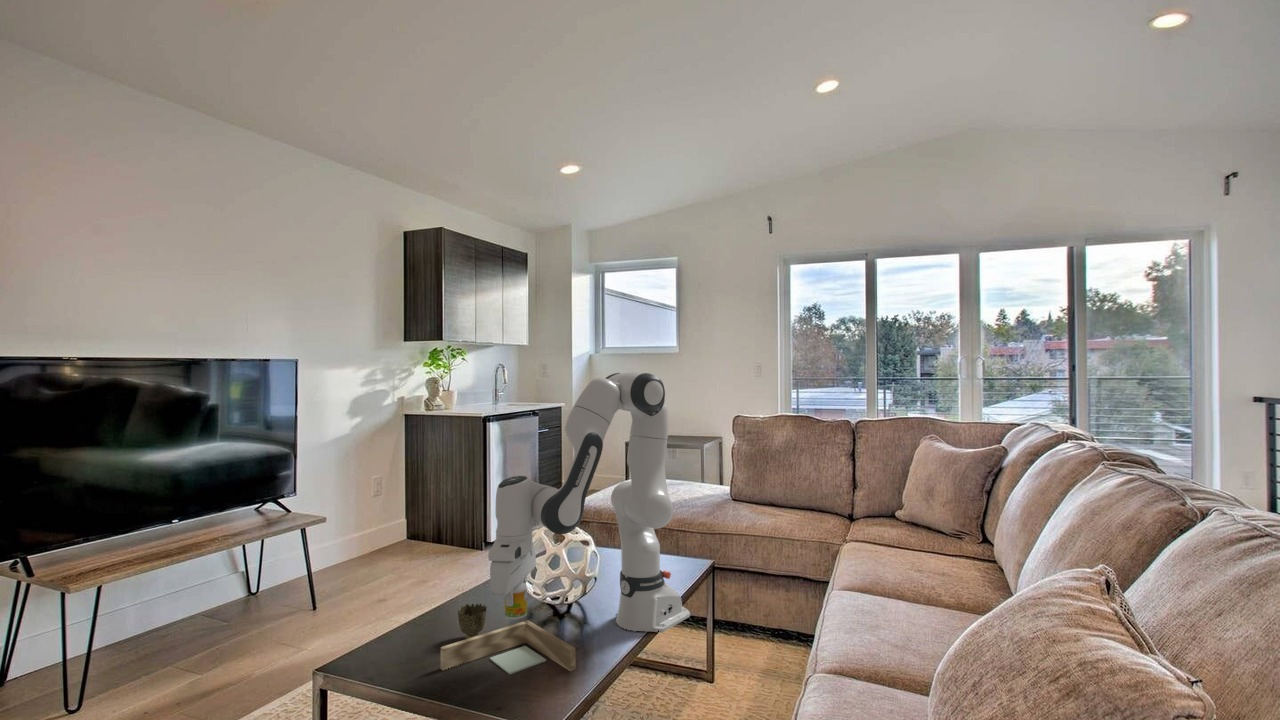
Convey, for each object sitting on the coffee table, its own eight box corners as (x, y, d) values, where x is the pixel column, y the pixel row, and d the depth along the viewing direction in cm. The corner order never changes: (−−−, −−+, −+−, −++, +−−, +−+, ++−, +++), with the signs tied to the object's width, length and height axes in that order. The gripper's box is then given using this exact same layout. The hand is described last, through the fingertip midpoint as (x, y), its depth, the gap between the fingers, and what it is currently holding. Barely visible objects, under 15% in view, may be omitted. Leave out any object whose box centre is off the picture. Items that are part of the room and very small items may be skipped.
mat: (525, 647, 152) (525, 645, 152) (546, 661, 145) (546, 659, 145) (489, 659, 146) (489, 657, 146) (509, 674, 138) (509, 672, 138)
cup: (478, 645, 153) (478, 614, 153) (452, 643, 154) (452, 612, 155) (491, 633, 160) (491, 604, 161) (466, 631, 162) (466, 602, 162)
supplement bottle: (502, 620, 142) (501, 579, 142) (508, 611, 148) (507, 572, 148) (524, 619, 142) (523, 579, 142) (529, 610, 147) (528, 571, 148)
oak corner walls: (527, 639, 157) (527, 620, 157) (575, 669, 141) (575, 648, 141) (440, 668, 141) (440, 647, 141) (482, 706, 125) (482, 682, 125)
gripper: (518, 531, 156) (519, 584, 156) (484, 556, 136) (486, 616, 136) (541, 532, 155) (542, 584, 155) (510, 556, 135) (511, 617, 134)
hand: (515, 599), depth 145 cm, fingers closed on supplement bottle, 5 cm apart
